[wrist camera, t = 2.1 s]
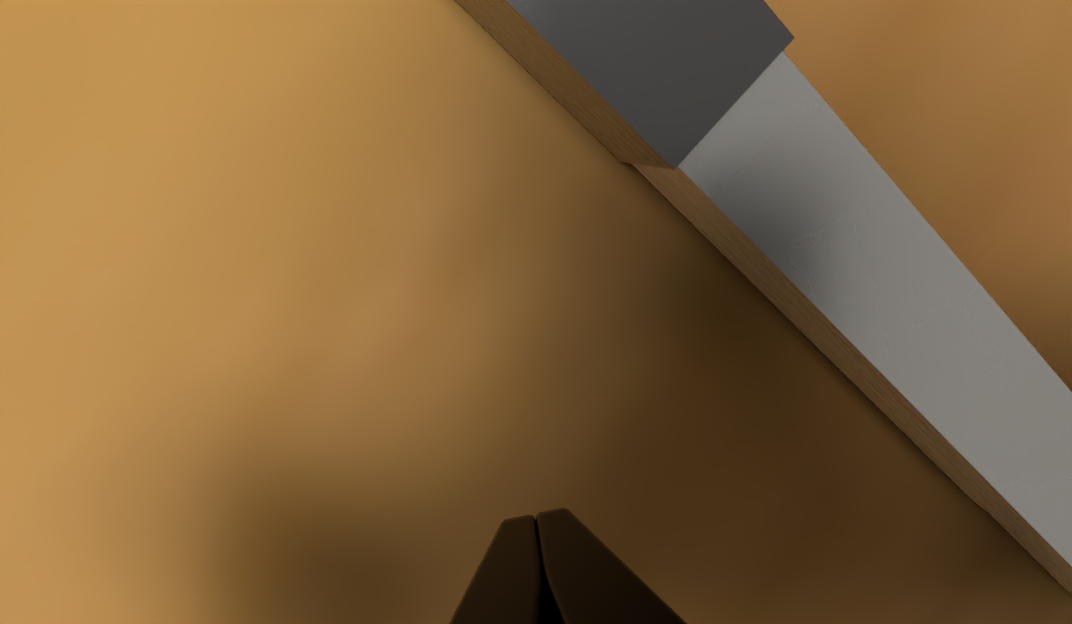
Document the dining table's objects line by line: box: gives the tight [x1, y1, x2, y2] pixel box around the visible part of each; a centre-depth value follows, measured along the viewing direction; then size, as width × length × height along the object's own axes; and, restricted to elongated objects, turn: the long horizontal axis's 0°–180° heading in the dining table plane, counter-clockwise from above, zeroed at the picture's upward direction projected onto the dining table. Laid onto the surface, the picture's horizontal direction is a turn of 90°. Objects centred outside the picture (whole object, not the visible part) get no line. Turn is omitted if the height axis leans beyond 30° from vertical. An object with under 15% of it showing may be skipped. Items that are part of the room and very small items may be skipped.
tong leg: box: [456, 0, 1072, 594], centre depth 9 cm, size 19×2×3 cm, turn 48°
